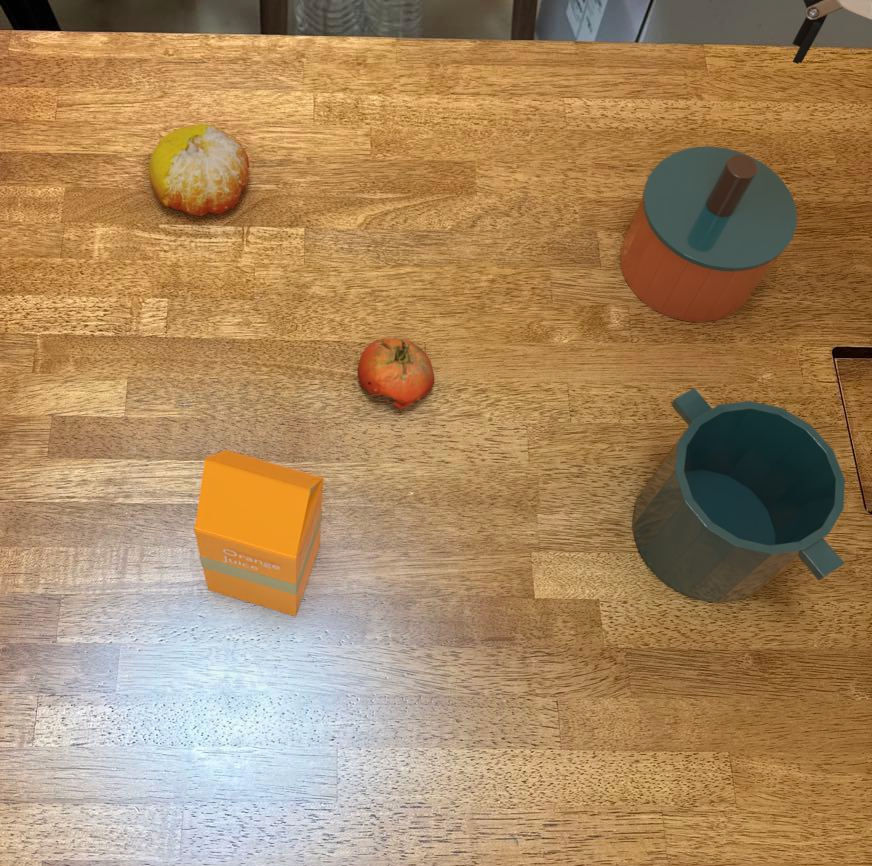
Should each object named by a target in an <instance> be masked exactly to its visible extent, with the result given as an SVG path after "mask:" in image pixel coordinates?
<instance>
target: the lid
mask: <svg viewBox="0 0 872 866" xmlns="http://www.w3.org/2000/svg"><path fill="white" fill-rule="evenodd" d="M643 187H644V188H643V191H642V197H643V210H644V213H645V217H646V219H647V222H648V224H649V226H650V228H651V229H652V231H653V233H654V234H655V235H656V236H657V238H658V239H659V240H660V241H661V242H662V243H663V244H664V245H665V246H666V247H667V248H668V249H670V250H671V251H672V252H673V253H675V254H676V255H678V256H680V257H681V258H683V259H685V260H687V261H689V262H691V263H693V264H696V265H698V266H701V267H705V268H708V269H712V270H719V271H731V272H733V271H745V270H751V269H754V268H758V267H761V266H763V265H765V264H767V263H769V262H771V261H773V260H774V259H776V258H777V259H778V258H779V256H780V255H782V254H783V253H784V252H785V250H786V249H788V246H789V245H790V243H791V241H792V240H793V238H794V237H795V233H796V230H797V224H798V212H797V205H796V202H795V200H794V196H793V195H792V193H791V190H790V189H789V188H788V186H787V185H786V183H785V182H784V180H783V179H782V178H781V177H780V176H779V175H778V174H777V173H776V172H775V171H774V170H772V168H770V167H769V166H768V165H766V164H765V163H764V162H762V161H760V160H758V159H757V158H755V157H753V156H750V155H749V154H746V153H743V152H741V151H738V150H735V149H730V148H726V147H719V146H709V145H708V146H707V145H706V146H695V147H689V148H686V149H682V150H679V151H676V152H673V153H671V154H670V155H668V156H667V157H665V158H663V159H662V160H661V161H659V163H658V164H656V165H655V167H653V169H652V170H651V172H650V174H649V175H648V177H647V180H646V182H645V185H644V186H643ZM777 259H776V260H777Z"/></svg>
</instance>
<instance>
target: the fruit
mask: <svg viewBox="0 0 872 866" xmlns="http://www.w3.org/2000/svg"><path fill="white" fill-rule="evenodd" d="M249 169H250V161H249V156H248V153H247V151H246V149H245V148H244V147H243V145H242V143H241V142H240V141H238V140H237V139H235V138H234V137H232V136H229V135H228V134H227V133H226V132H225V131H223V130H221V129H217V127H216V126H213V125H210V124H206V123H198V124H193V125H190V126H185V127H182V128H177V129H174V130H173V131H170V132H168V133H167V134H166V135H165V136H163V137H162V138H161V139H160V140H159V141H158V143H157V145H156V146H155V148H154V150H153V151H152V153H151V156H150V159H149V162H148V168H147V172H148V173H147V174H148V178H149V182H150V184H151V187H152V189H153V192H154V194H155V196H156V198H157V200H158V201H159V202H160V203H161V204H162V205H163V206H164V207H165V208H166V207H168V208H172V209H173V210H178V211H183V212H185V213H186V214H188V215H189V216H200V217H202V216H203V215H207V213H211V214H215V215H225V213H227V211H229V210H231V209H233V208H234V207H236V206H237V205H238V203H239V202H240V197H241V195H242V193H243V191H244V190H245V189H246V188H247V185H248V182H249V180H250V172H249Z"/></svg>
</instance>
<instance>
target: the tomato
mask: <svg viewBox="0 0 872 866" xmlns="http://www.w3.org/2000/svg"><path fill="white" fill-rule="evenodd" d="M357 377H358V382H359V385H360V388H361V389H362V391H364V390H365V391H366V392H368V393H369V395H374V396H378V397H379V398H381V395H382V396H385V397H388V398H392V399H394V400H395V401H393V404H394V406H395V407H396V408H398V410H402V409H405V408H406V407H409V406H411V405H412V404H416V403H417V402H418V401H421V400H422V399H424V398H425V397H427V396H428V394H429V393H430V392H432V390H433V387H434V384H435V381H436V380H435V373H434V368H433V365H432V362H431V359H430V357H429V355H428V354H427V353H426V352H425V351H424V350H423V348H421V347H420V346H419V345H417V344H415V343H414V342H412V341H410V340H408V339H401V338H396V337H395V338H394V337H393V338H391V337H385V338H380V339H376V340H373V341H372V342H371V343H369V344H368V345H367V346H366V347H365V348H364V350H363V352H362V354H361V356H360V359H359V362H358V366H357ZM386 402H387V404H389V403H390V401H389V400H387V401H386Z"/></svg>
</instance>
